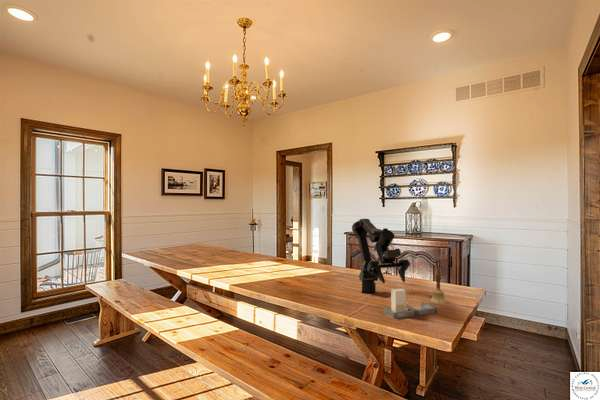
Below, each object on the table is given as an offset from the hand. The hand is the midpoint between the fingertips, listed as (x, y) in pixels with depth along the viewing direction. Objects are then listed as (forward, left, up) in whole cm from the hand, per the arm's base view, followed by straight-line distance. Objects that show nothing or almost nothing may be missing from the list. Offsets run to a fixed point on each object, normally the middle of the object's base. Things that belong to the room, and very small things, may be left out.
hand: (394, 282), depth 137 cm
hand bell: (+18, +20, -13) cm, 30 cm away
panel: (+6, 0, -13) cm, 14 cm away
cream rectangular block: (+2, -3, -12) cm, 13 cm away
